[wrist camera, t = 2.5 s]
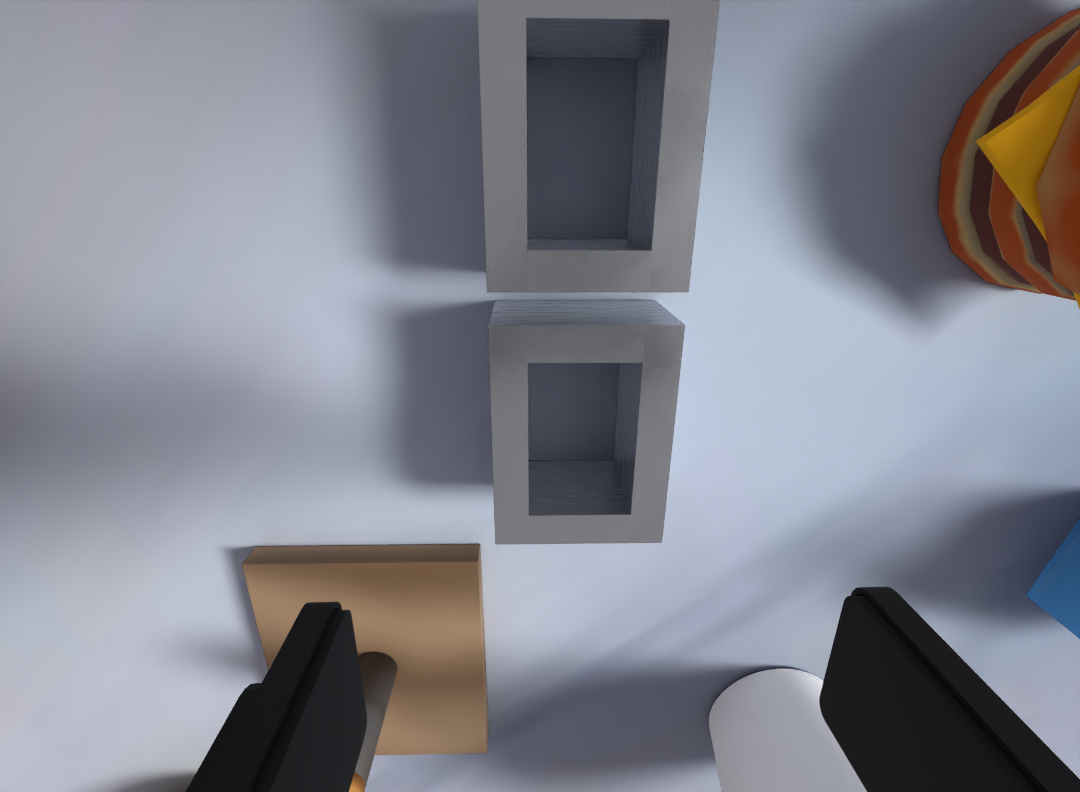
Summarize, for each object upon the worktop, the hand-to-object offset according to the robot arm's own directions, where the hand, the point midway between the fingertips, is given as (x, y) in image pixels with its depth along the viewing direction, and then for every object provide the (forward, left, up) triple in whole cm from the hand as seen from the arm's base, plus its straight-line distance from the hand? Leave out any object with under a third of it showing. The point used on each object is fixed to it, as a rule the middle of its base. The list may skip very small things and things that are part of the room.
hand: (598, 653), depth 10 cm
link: (0, 0, -12) cm, 12 cm away
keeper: (+13, -9, -12) cm, 19 cm away
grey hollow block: (-9, 0, -12) cm, 15 cm away
